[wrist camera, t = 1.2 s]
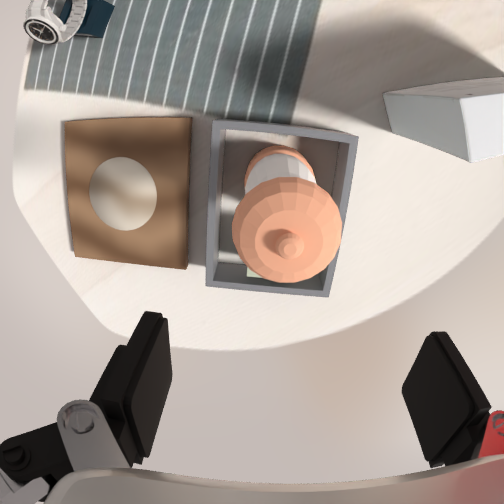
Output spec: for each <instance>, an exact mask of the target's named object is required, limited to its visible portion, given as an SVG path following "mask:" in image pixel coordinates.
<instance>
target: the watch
mask: <svg viewBox="0 0 504 504" xmlns="http://www.w3.org/2000/svg"><path fill="white" fill-rule="evenodd" d="M47 1H48V0H31V2H30V5H29V8H28V9H27V11H26V20H25V22H24V25H23V27H24V29H25V31H26V33H27V34H28V35H29V36H30V37H31V38H32V39H34V40H36V41H37V42H40V43H42V44H46V45H54V44H57V43H58V42H65V41H67V40H69V39H70V38H71V37H72V36H73V35H80V36H90V37H99V38H103V35H104V32H105V30H106V27H107V24H108V22H109V19H110V17H111V14H112V12H113V9H114V7H115V6H113V5H112V4H110V3H108V2H106V1H104V0H66V2H65V4H64V7H63V10H62V12H61V15H60V17H59V18H58V17H57V16H56V15H54V14H53V12H52V10H51V8H50V7H47V3H48V2H47ZM46 7H47V8H46Z"/></svg>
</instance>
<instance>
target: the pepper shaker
mask: <svg viewBox="0 0 504 504" xmlns="http://www.w3.org/2000/svg"><path fill="white" fill-rule="evenodd" d="M244 189H245V196H244V198H243V199H242V200H241V202H240V203H239V205H238V206H237V207H236V211H235V214H234V218H233V221H232V237H233V242H234V244H235V247H236V249H237V252H238V254H239V256H240V259H241V260H242V261H243V262H244V263H245V264H246V266H247V267H248V268H249V269H250V270H251V271H253V272H254V273H256V274H257V275H259V276H261V277H262V278H264V279H268V280H271V281H275V282H279V283H294V282H299V281H302V280H305V279H309V278H311V277H313V276H314V275H316V274H318V273H319V272H321V271H322V270H324V269H325V268H326V266H327V265H328V264H329V263H330V262H331V261H332V260H333V258H334V257H335V255H336V252H337V250H338V248H339V245H340V242H341V231H342V221H341V217H340V213H339V209H338V207H337V205H336V204H335V202H334V201H333V199H332V198H331V196H330V195H329V193H327V192H326V191H325V190H323V189H322V188H321V187H319V186H318V185H317V184H316V181H315V176H314V173H313V169H312V167H311V166H310V165H309V163H308V162H307V161H306V159H305V158H304V156H303V155H302V154H300V153H299V152H298V151H296V150H295V149H293V148H290V147H287V146H271V147H267V148H264V149H262V150H261V151H260V152H258V153H257V154H256V155H255V156H254V157H253V158H252V160H251V161H250V163H249V165H248V168H247V171H246V175H245V178H244Z"/></svg>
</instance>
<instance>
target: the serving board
mask: <svg viewBox="0 0 504 504" xmlns="http://www.w3.org/2000/svg"><path fill="white" fill-rule="evenodd" d="M191 130H192V118H184V117H136V118H109V119H91V120H78V121H68V122H65V163H66V180H67V194H68V205H69V215H70V223H71V231H72V239H73V246H74V253H75V257H82V258H89V259H98V260H106V261H114V262H122V263H131V264H139V265H148V266H157V267H166V268H175V269H184V270H186V269H187V267H188V211H189V174H190V149H191Z"/></svg>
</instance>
